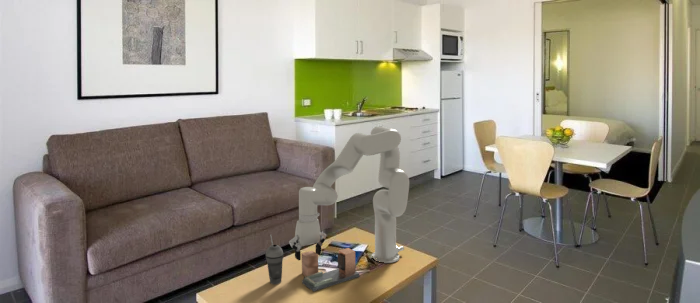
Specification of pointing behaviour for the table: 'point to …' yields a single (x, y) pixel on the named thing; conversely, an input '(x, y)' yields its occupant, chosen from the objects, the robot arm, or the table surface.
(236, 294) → the table surface
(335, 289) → the table surface
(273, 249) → the beverage cup
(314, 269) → the block
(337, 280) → the rail
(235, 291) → the table surface
